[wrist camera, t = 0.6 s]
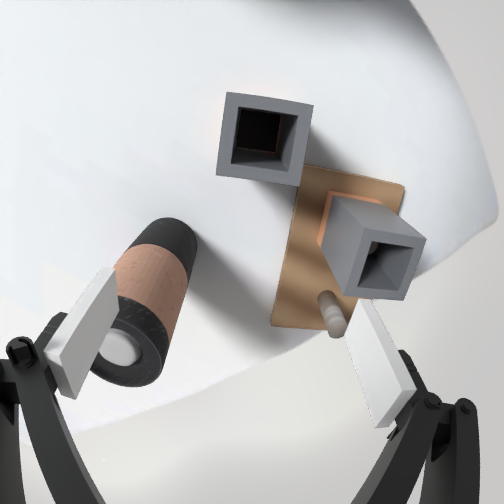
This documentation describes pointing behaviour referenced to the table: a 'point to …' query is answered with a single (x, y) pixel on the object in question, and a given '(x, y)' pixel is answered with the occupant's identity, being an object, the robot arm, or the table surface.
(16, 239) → the table surface
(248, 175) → the banded sleeve
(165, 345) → the travel mug
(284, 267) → the pinboard
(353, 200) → the seated sleeve
